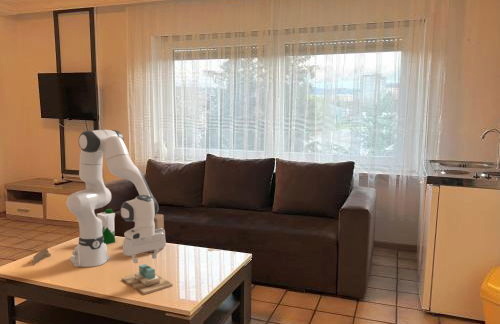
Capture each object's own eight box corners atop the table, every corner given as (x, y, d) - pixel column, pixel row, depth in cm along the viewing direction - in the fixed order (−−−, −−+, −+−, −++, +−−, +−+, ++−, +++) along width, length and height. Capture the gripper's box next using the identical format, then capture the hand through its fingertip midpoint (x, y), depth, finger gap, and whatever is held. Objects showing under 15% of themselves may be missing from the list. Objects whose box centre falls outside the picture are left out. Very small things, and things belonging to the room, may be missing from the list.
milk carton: (117, 242, 253) (116, 209, 250) (103, 245, 246) (102, 212, 244) (109, 239, 258) (108, 207, 256) (96, 242, 251) (94, 210, 249)
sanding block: (135, 278, 194) (134, 265, 193) (146, 275, 198) (146, 262, 197) (147, 286, 185) (147, 272, 184) (159, 283, 189) (159, 269, 188)
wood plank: (36, 265, 214) (35, 256, 213) (32, 265, 214) (31, 256, 213) (51, 255, 229) (50, 246, 228) (47, 255, 229) (46, 246, 228)
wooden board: (121, 279, 195) (121, 277, 195) (148, 272, 205) (148, 270, 205) (144, 294, 179) (144, 292, 179) (172, 285, 189) (172, 283, 189)
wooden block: (157, 253, 233) (156, 218, 231) (141, 252, 235) (140, 217, 233) (164, 247, 243) (164, 214, 240) (148, 246, 245) (148, 213, 242)
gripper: (161, 225, 199) (161, 253, 200) (120, 233, 185) (121, 263, 187) (168, 228, 194) (168, 257, 196) (127, 237, 180) (127, 267, 182)
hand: (145, 260), depth 191 cm, fingers open, 8 cm apart
